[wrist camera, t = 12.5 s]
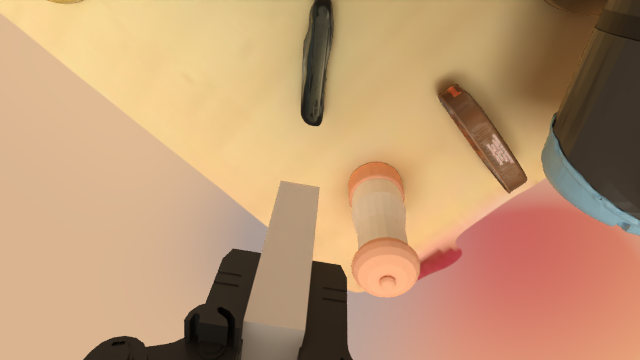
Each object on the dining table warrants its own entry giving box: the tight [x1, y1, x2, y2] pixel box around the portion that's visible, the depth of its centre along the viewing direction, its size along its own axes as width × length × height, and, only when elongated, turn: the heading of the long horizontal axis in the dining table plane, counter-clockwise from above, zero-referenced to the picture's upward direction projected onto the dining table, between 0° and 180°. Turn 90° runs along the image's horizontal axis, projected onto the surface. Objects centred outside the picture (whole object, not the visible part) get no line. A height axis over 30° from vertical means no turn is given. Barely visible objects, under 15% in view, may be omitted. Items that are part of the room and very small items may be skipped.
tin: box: [438, 84, 527, 193], centre depth 46 cm, size 15×3×8 cm, turn 40°
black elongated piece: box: [301, 0, 333, 126], centre depth 44 cm, size 5×3×15 cm
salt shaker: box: [349, 162, 420, 297], centre depth 47 cm, size 7×7×19 cm
